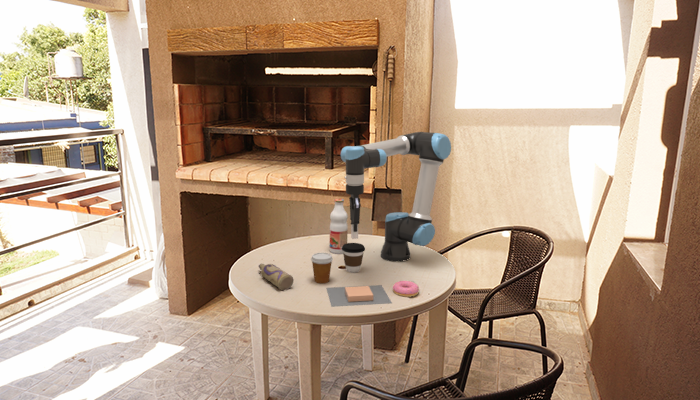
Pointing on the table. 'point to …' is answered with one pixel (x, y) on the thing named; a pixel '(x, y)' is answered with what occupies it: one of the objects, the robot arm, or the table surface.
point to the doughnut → (405, 288)
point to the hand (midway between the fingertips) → (354, 238)
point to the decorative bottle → (276, 276)
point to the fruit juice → (338, 227)
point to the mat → (340, 299)
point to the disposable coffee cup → (321, 267)
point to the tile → (358, 293)
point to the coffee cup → (353, 256)
